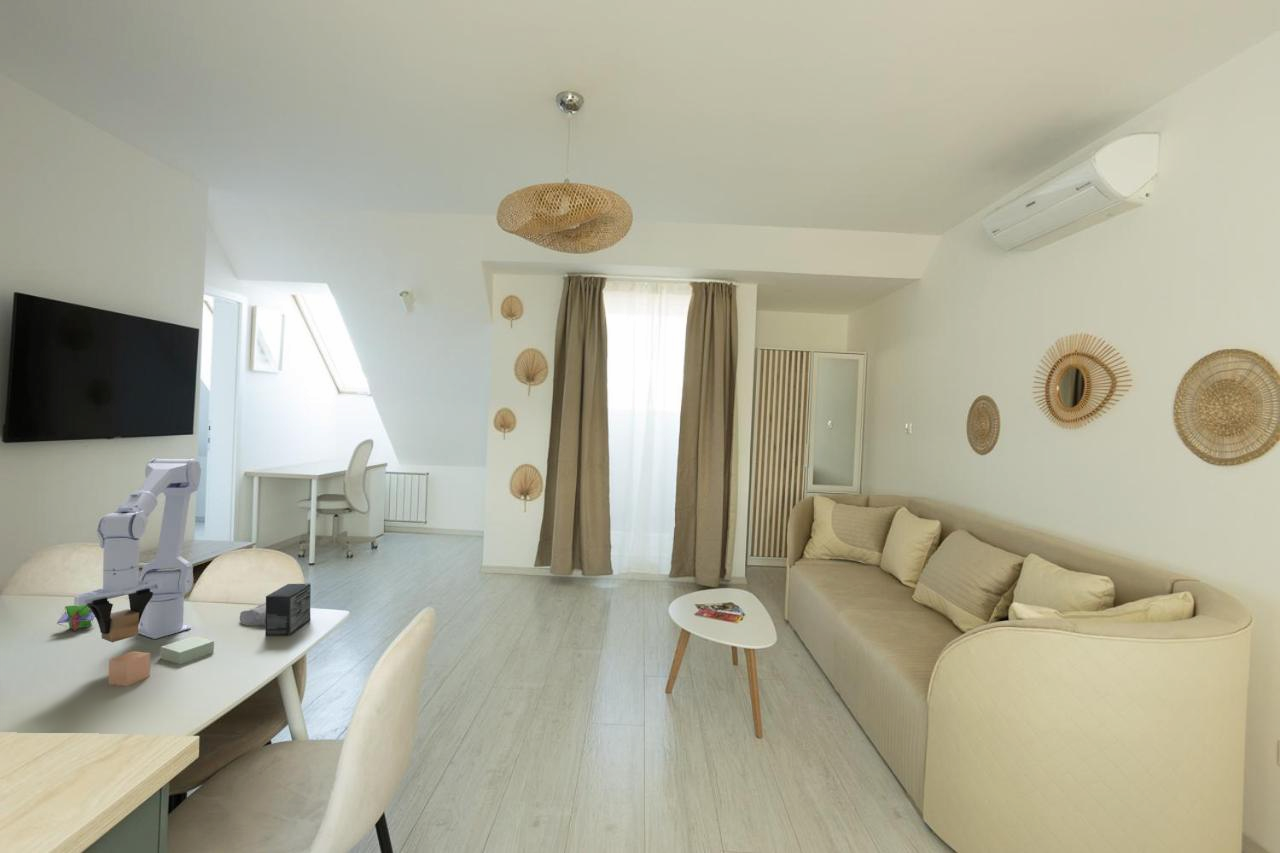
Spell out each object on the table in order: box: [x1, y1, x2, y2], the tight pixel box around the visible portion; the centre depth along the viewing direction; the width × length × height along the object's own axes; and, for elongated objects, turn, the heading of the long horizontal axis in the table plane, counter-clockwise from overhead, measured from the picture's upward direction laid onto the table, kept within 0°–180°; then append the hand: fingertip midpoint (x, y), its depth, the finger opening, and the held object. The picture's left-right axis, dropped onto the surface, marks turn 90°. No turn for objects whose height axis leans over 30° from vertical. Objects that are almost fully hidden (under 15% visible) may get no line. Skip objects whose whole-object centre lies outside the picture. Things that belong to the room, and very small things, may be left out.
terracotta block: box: [108, 650, 151, 687], centre depth 115 cm, size 4×4×5 cm
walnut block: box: [101, 608, 139, 643], centre depth 121 cm, size 4×4×5 cm
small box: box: [264, 583, 312, 637], centre depth 145 cm, size 11×6×10 cm, turn 5°
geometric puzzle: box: [56, 604, 96, 633], centre depth 140 cm, size 7×7×8 cm
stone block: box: [239, 602, 266, 627], centre depth 152 cm, size 12×5×10 cm
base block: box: [159, 635, 215, 665], centre depth 127 cm, size 7×7×3 cm
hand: (119, 628), depth 121 cm, fingers closed on walnut block, 4 cm apart
